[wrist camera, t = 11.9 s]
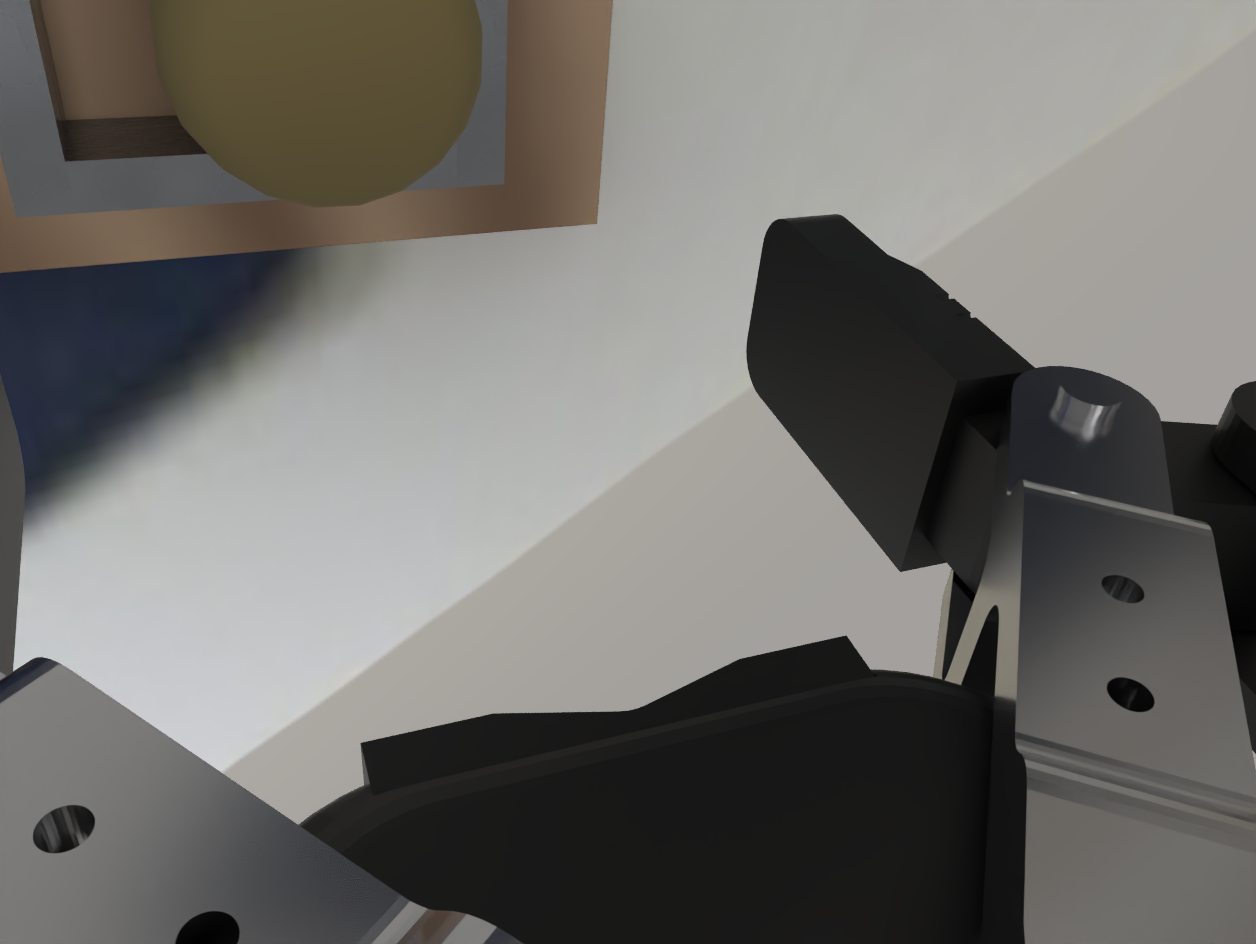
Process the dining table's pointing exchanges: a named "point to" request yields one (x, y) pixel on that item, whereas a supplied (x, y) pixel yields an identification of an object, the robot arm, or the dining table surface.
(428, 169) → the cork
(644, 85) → the dining table surface
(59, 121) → the socket collar
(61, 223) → the hub plate
